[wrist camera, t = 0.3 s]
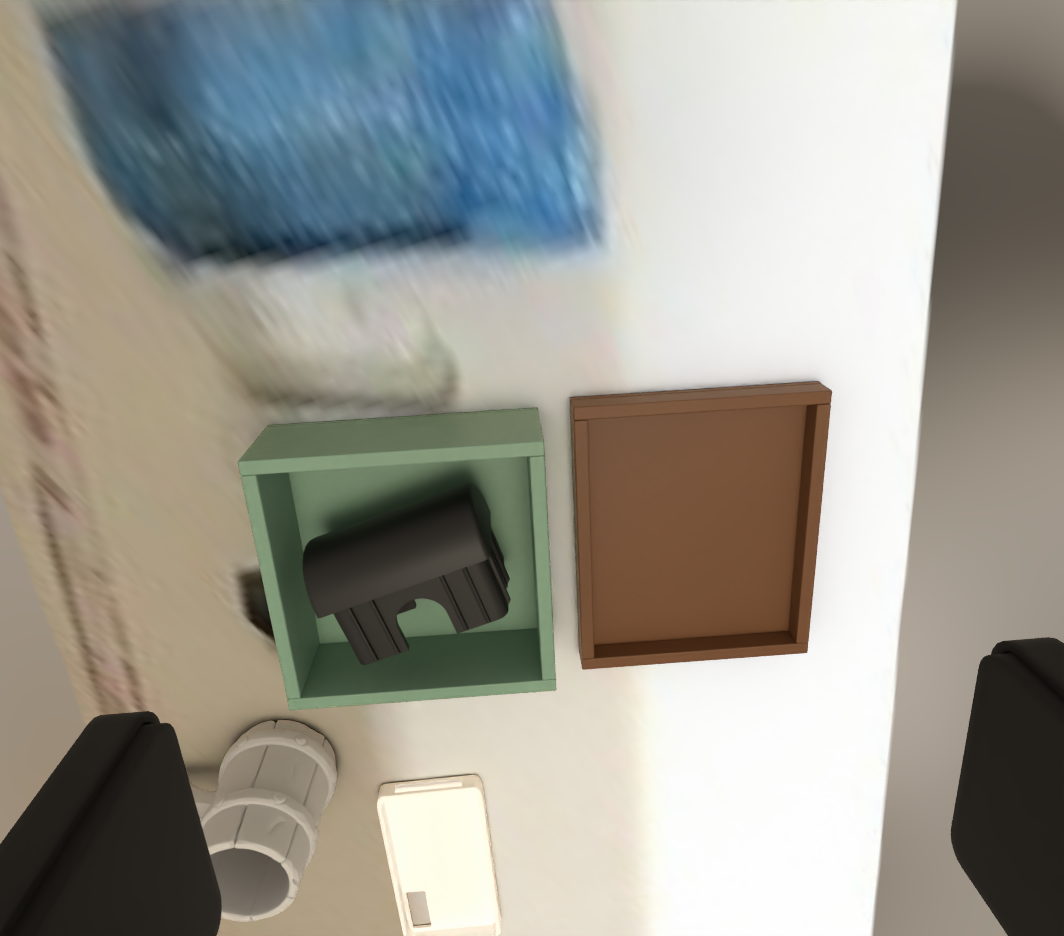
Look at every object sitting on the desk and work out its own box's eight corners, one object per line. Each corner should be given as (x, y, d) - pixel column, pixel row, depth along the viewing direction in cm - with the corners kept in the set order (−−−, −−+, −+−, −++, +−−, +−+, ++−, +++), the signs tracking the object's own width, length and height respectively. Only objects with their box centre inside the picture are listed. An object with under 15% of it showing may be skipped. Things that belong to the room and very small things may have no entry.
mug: (350, 796, 55) (314, 958, 44) (183, 813, 55) (105, 980, 44) (330, 709, 52) (286, 859, 41) (154, 727, 52) (62, 882, 41)
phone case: (501, 922, 60) (481, 772, 55) (502, 938, 59) (480, 787, 54) (407, 932, 60) (377, 783, 55) (405, 948, 59) (374, 798, 54)
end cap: (471, 461, 46) (468, 509, 40) (514, 560, 48) (517, 619, 42) (317, 517, 47) (289, 572, 40) (366, 611, 49) (348, 677, 43)
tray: (569, 397, 45) (573, 407, 43) (818, 380, 45) (832, 390, 43) (578, 651, 52) (582, 670, 50) (796, 635, 52) (807, 653, 50)
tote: (267, 425, 45) (237, 461, 39) (537, 407, 45) (543, 441, 40) (310, 652, 51) (289, 710, 45) (549, 634, 51) (556, 691, 46)
